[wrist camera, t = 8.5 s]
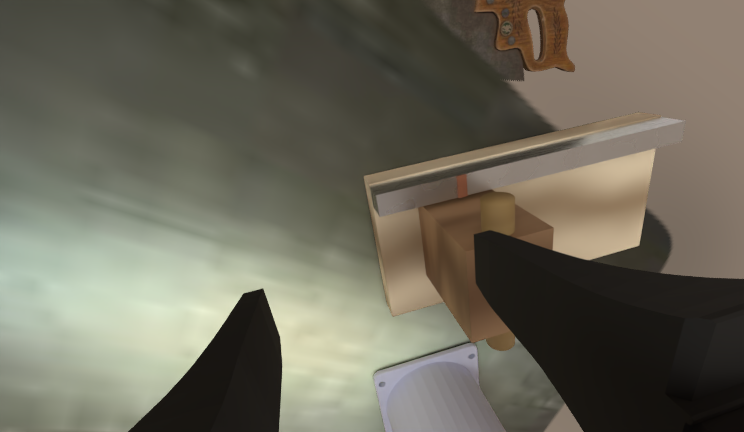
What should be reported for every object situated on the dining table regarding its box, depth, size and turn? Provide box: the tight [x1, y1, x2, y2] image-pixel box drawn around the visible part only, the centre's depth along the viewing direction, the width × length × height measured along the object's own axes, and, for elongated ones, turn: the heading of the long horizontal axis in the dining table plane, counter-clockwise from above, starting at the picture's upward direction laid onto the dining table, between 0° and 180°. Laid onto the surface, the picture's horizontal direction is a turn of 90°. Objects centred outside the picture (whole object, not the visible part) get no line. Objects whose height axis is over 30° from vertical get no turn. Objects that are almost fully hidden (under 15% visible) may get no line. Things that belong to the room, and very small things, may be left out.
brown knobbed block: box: [418, 189, 554, 351], centre depth 19 cm, size 8×4×6 cm, turn 10°
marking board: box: [364, 112, 686, 316], centre depth 22 cm, size 9×18×3 cm, turn 100°
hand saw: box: [423, 0, 575, 81], centre depth 18 cm, size 24×5×1 cm, turn 93°
